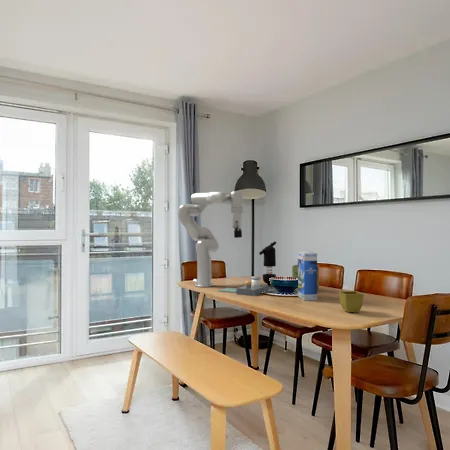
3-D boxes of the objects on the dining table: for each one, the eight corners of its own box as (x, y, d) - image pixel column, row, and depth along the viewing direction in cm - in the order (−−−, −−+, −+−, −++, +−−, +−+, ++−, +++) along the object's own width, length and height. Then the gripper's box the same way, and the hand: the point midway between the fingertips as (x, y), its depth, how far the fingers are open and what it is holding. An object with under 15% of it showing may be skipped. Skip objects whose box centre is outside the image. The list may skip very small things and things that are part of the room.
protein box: (317, 292, 233) (317, 266, 233) (292, 291, 238) (291, 266, 238) (319, 289, 242) (318, 265, 243) (294, 288, 247) (294, 264, 248)
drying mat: (218, 291, 239) (218, 290, 239) (228, 288, 249) (228, 287, 249) (234, 292, 232) (234, 291, 232) (244, 290, 243) (244, 289, 243)
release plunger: (244, 290, 228) (244, 281, 228) (247, 289, 231) (247, 280, 231) (249, 291, 226) (249, 281, 226) (252, 290, 229) (252, 281, 229)
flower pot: (338, 310, 184) (338, 291, 184) (356, 309, 184) (356, 290, 184) (345, 314, 175) (345, 294, 175) (364, 313, 176) (364, 294, 176)
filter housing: (236, 294, 228) (236, 288, 228) (251, 289, 244) (251, 284, 244) (254, 295, 222) (254, 289, 222) (268, 291, 238) (268, 285, 238)
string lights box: (297, 296, 220) (297, 251, 220) (310, 296, 220) (310, 251, 221) (304, 300, 207) (304, 252, 207) (318, 300, 207) (317, 252, 207)
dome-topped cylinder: (249, 291, 236) (249, 277, 236) (253, 290, 240) (253, 276, 240) (257, 292, 233) (257, 277, 233) (262, 291, 237) (261, 276, 238)
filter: (272, 284, 265) (271, 241, 265) (280, 286, 257) (279, 241, 257) (255, 285, 259) (255, 241, 259) (263, 287, 251) (262, 241, 251)
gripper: (233, 211, 254) (234, 237, 253) (228, 210, 237) (229, 237, 236) (245, 211, 252) (245, 237, 252) (240, 209, 235) (241, 237, 235)
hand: (238, 237), depth 244 cm, fingers open, 9 cm apart
